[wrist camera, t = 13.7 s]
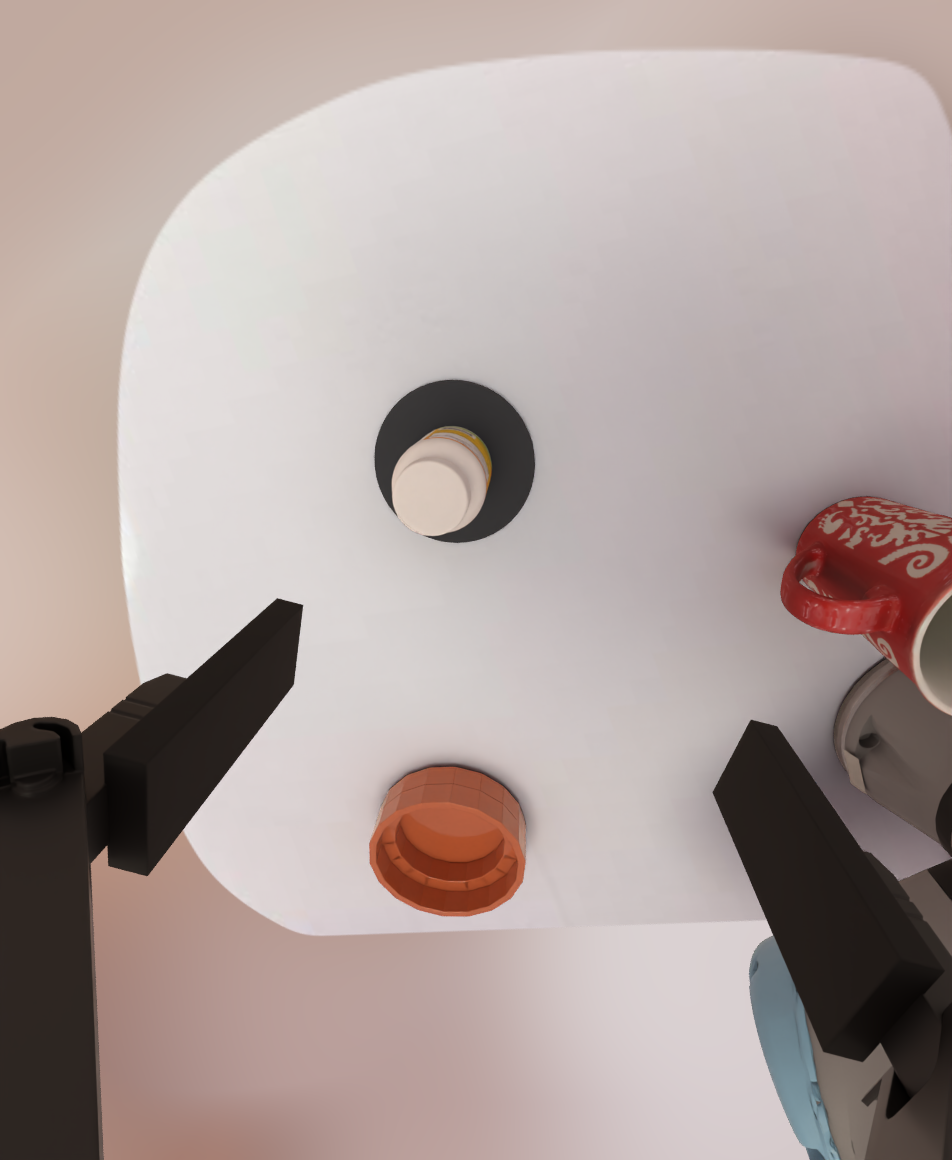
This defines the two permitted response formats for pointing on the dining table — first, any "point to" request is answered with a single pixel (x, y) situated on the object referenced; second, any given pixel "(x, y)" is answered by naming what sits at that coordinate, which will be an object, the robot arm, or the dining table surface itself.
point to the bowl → (449, 842)
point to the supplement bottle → (441, 481)
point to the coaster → (484, 419)
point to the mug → (881, 585)
